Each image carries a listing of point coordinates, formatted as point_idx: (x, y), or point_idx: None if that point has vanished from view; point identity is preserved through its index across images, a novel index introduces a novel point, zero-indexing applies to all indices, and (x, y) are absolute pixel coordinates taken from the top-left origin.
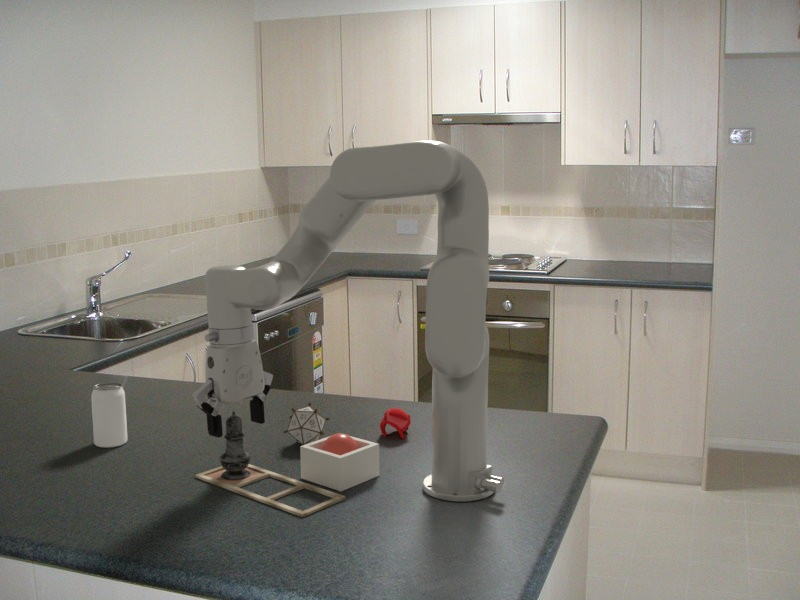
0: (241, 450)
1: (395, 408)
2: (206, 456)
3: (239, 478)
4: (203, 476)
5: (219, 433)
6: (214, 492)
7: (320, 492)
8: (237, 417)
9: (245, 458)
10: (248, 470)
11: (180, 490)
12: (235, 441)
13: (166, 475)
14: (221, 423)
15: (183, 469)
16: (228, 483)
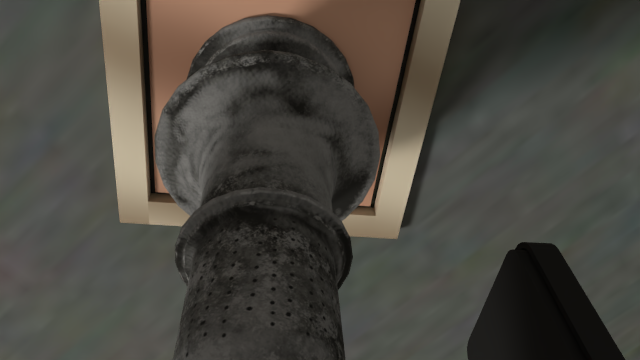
0: (261, 133)
1: None
2: (171, 353)
3: (314, 31)
4: (395, 198)
5: (566, 269)
6: (522, 19)
7: None
8: None
9: (269, 65)
10: (169, 93)
11: (558, 172)
12: (309, 196)
13: (430, 321)
14: (576, 353)
15: (341, 321)
16: (392, 40)
